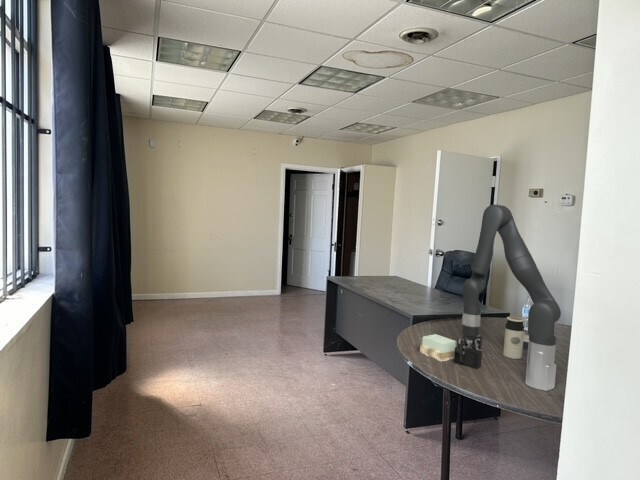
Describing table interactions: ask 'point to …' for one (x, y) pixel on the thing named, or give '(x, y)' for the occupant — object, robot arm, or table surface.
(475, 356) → the digital camera
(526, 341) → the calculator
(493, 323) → the table surface
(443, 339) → the block top
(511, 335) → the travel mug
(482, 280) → the robot arm
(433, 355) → the block bottom
